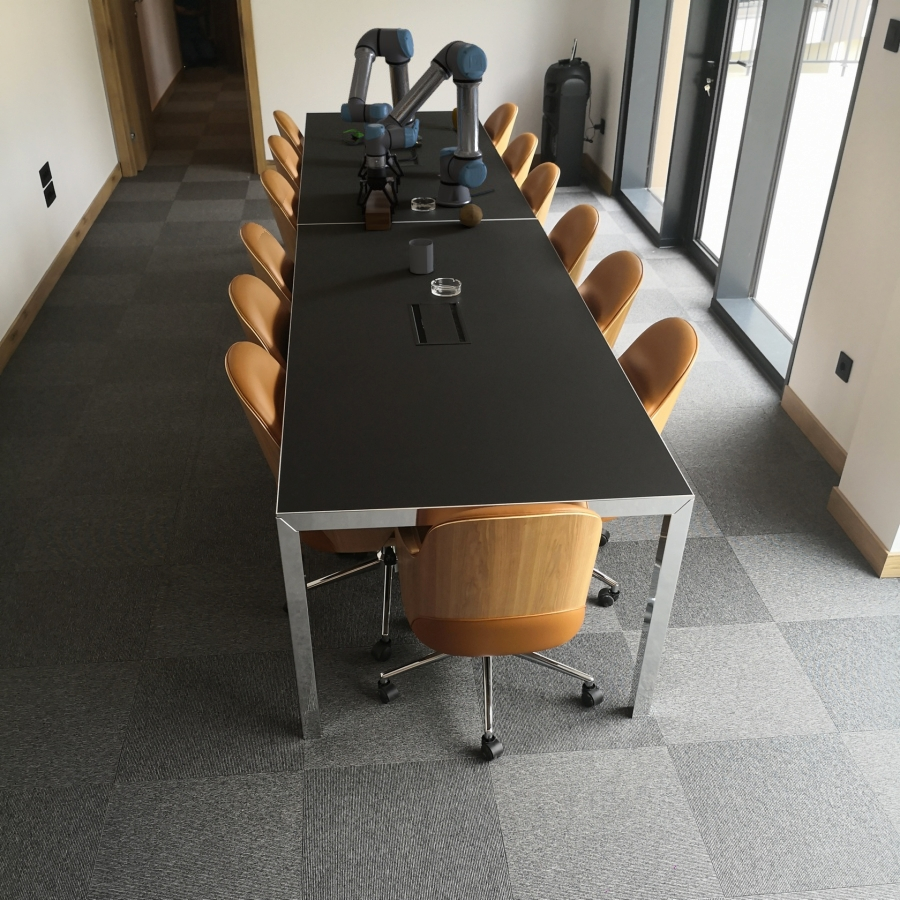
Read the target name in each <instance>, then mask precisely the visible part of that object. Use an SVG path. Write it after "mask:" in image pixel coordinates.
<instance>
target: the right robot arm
mask: <svg viewBox="0 0 900 900" xmlns="http://www.w3.org/2000/svg"><path fill="white" fill-rule="evenodd" d="M429 63H430V66H429V67H428V68H427V70H425V72H424V73H423V74H422V75H421V76H420V78H418V80H417V81H416V82H415V83H414V84H413V86H412V87H411V88H410V90H409V92H408V93H407V94H406V95H405V96H404V97H403V99H402V100H401V101H400V102H399V103H398V105H397V106H396V107H395V108H394V109H393V110H392V112H391V113H390V114H389V115H388V116H387V117H386V118H385V119H382V120H379V121H378V122H377V123H376V124H369V125H367V126H366V128H365V141H366V160H367V166H368V167H367V168H366V169H367V175H366V177H367V180H362V179H359V190H358V191H359V192H358V196H357V201H356V206H357V207H359V206H360V208H361V215H362V216H365V212H366V206H367V200H368V198H369V196H370V194H371V192H372V190H373V191H376V190H378V191H381V190H382V191H383V193H384V194H385V196H386V197H387V199H388V201H389V202H390V204H391V205H390V223H391V224H393V216H394V215H395V214H396V207H397V206H399V205H400V199H399V197H398V193H396V185H395V179H394V178H393V179H392V180H388V179H387V177H388V176H387V168H386V167H385V165H386V153H385V151H386V150H388V149H389V150H398V149H407V148H412V147H413V146H414V145H415V144H416V143H415V134H414V131H413V129H412V128H411V127H404V126H405V125H406V124H407V122H408V121H409V120H410V119H411V118H412V117H413V115H415V114H416V113H418V111H419V110H420V109H421V108H422V106H423V105H424V104H425V103H426V102H427V101H428V100H429V99H430V97H431V96H433V94H434V92H436V91H437V89H438V88H439V87H440V86H441V85H442V83H443V82H444V81H449V79H450V78H451V77H452V83H453V84H454V85H455V87H456V108H457V130H456V133H457V134H456V137H457V138H456V140H457V141H456V142H457V144H456V146H448V147H444V148H441V150H440V152H439V175H440V176H439V186H438V190H437V195H436V196H435V204H437V205H439V206H441V207H446V208H462V207H463V206H464V205H467V204H472V197H478V196H481V195H484V194H485V195H486V194H488V193H492V192H495V188H491V189H488V190H484V191H481V192H478V193H470V189H476V188H478V187H480V186H481V185H482V184H483V183H484V181H485V180H486V178H487V175H488V174H487V173H488V171H487V165H485V163H484V162H483V151H482V150H481V149H480V148H479V87H480V85H481V83H482V82H483V76H484V73H486V71H487V67H488V58H487V54H486V53H485V51H484V50H483V49H482V48H481V47H479V46H478V45H476V44H474V43H471V42H466V41H463V40H453V41H451V42H449V43H447V44H446V45H445V46H443V47H442V49H440V50H439V51H438V53H437V54H435V56H434V57H433V58H432V59H431V61H429ZM414 143H415V144H414ZM366 183H367V186H368V187H369V188H368V189H367V194H365V196H364V198H363V200H362V201H361V199H362V196H363V191H364V187H365V184H366ZM387 183H389V185H390V186H391V189H392V192H393V200H392V198H391V196H390V194H389V193H388V191H387V189H386V187H385V186H386V184H387ZM364 224H365V225H366V218H365V217H364Z"/></svg>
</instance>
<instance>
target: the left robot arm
mask: <svg viewBox="0 0 900 900" xmlns="http://www.w3.org/2000/svg"><path fill="white" fill-rule="evenodd" d="M414 45H415V44H414V39H413V36H412V32H411V31H410V30H409V29H408V28H401V27H398V28H395V27H394V28H393V27H392V28H391V27H388V28H387V27H374V28H371V29H369V30H367V31H366V32H365V33H364V34H362V36H361V37H360V38H359V39H358V41H357V43H356V45H355V48H354V52H353V53H354V55H353V56H354V58H355V60H354V65H353V70H352V71H353V72H352V78H351V83H350V87H349V94H348V100H347V102H345V103H344V102H343V103H342V104H341V105H340V118H341V120H342V122H344V123H351V124H352V123H363V133H364V141H363V142H364V151H363V155H362V159H361V166H360V168H359V170H358V172H357V178H361V180H367V167H368V166H367V160H366V141H365V128H366V126H367V125H369V124H376V123H377V122H378V121H379V120H382V119H385V118H386V117H387V116H388V115H389V114H390V113H391V112H392V110H393V109H394V108H395V107H396V106H397V105H398V103H399V102H400V101H401V100H402V99H403V97H404V96H405V95H406V94H407V93H408V92H409V90H410V89H411V88H410V75H409V63H411V60H412V58H413V57H414V54H415V48H414V47H415V46H414ZM377 58H384V62H385V64H386V65H388V72H389V79H390V92H391V93H390V94H391V102H392V103H391V104H392V105H391V104H389V103H387V102H376V103H366V101H367V97H368V91H369V86H370V80H371V73H372V68H373V64H374V63H375V62H376V59H377ZM404 127H411V128H412V129H413V131H414V134H415V143H414V145H415V144H416V143H417V141H418V136H419V128H420V120H419V119H418V118H416V115H415V114H414V115H413V117H412V118H411V119H410V120H409V121H408V122H407V124H406V125H405V126H404ZM390 151H391V150H390V149H388V150H386V151H385V153H386V165H385V167H386V169H387V168H389V170H390V171H391V172H392V173H393V174H394V175H395V176H396V177H395V190H396V193H397V194H399V186H401V184H402V182H401V178H403V177H405V171H404V170H403V168H402V166H401V164H400V162H407V161H408V162H409V161H413V160H415V159H417V158H418V154H415V155H414V157H411V158H398V156H397V154H396V153H393V154H391V152H390ZM394 163H395V165H396V167H397V169H398V170H397V169H396V168H395V166H394ZM365 168H366V169H365ZM364 169H365V170H364ZM363 171H364V172H363ZM367 192H368V184H367V183H366V184H365V186H364V193H365V195H366V194H367Z"/></svg>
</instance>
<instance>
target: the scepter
mask: <svg viewBox="0 0 900 900" xmlns="http://www.w3.org/2000/svg"><path fill="white" fill-rule="evenodd" d="M349 132H355V133H351V134H350V136H351V137H350V140H352V141H355V142H351V141H347V140H345V139H341V141H342V142H344V143H346V144H348V145H354V146H355V145H359V144H360V143H362V142H364V132H362V131H360V130H359V129H355V128H354V129H353V128H351V129H347V130H345V131H342V134H345V133H349Z"/></svg>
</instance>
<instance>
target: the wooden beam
mask: <svg viewBox="0 0 900 900" xmlns="http://www.w3.org/2000/svg"><path fill="white" fill-rule="evenodd" d="M386 177H387V179H388V180H392V179H393V180H394V176H386ZM385 187H386V189H387V191H388V193H389V194H390V196H391V198H392V200H393V201H394V196H393V192H392V189H391V186H390V185H389V183H387V184H386V186H385ZM390 205H391V204H390V202H389V201H388V199H387V197H386V196H385V194H384V193H383V191H382V190H381V191H378V190H376V191H373V190H372V192H371V194H370V196H369V198H368V200H367V202H366V205H365V206H366V212H365V215H364V219H365V218H366V224H365V230H366V231H390V230H391V225H392V223H390Z"/></svg>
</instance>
